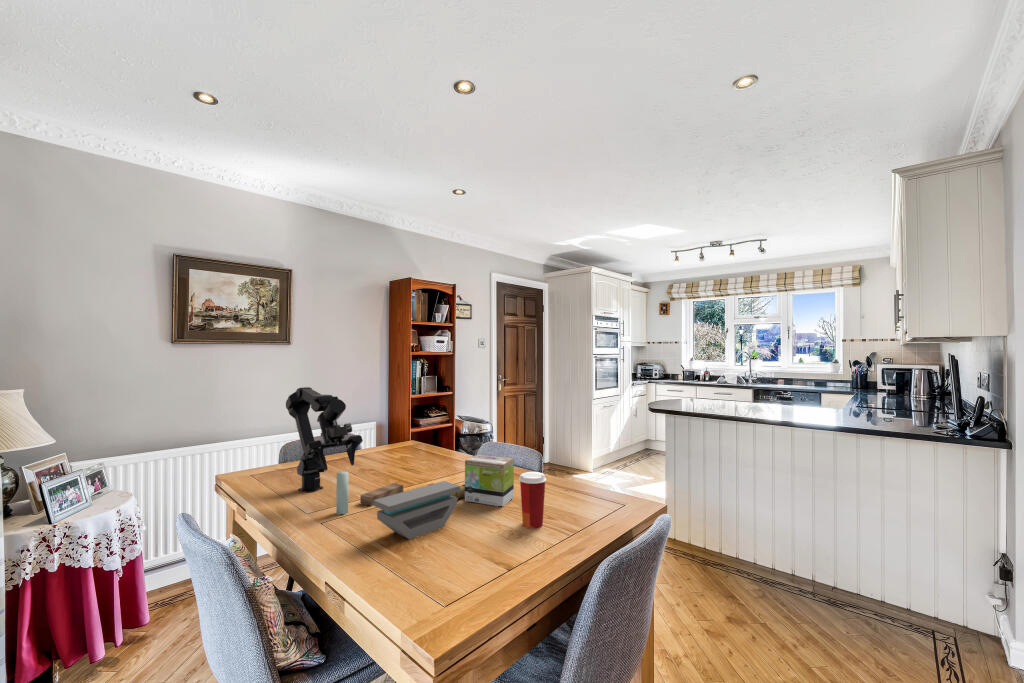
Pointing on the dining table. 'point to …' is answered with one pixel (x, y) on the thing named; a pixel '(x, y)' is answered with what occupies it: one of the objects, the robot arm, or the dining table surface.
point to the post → (342, 493)
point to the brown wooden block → (380, 493)
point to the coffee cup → (532, 498)
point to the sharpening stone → (418, 509)
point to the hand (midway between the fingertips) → (340, 467)
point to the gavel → (459, 492)
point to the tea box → (489, 480)
